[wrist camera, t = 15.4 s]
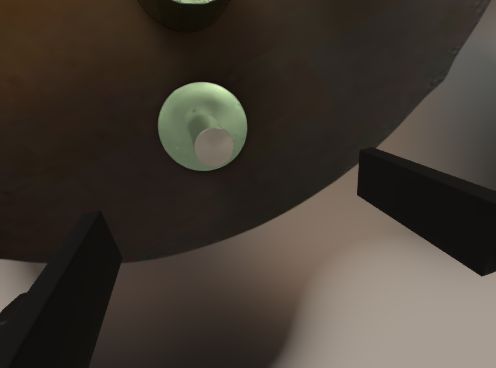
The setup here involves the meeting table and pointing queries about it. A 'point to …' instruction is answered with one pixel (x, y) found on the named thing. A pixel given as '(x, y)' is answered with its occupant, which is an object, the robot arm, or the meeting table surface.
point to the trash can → (184, 13)
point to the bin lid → (202, 126)
